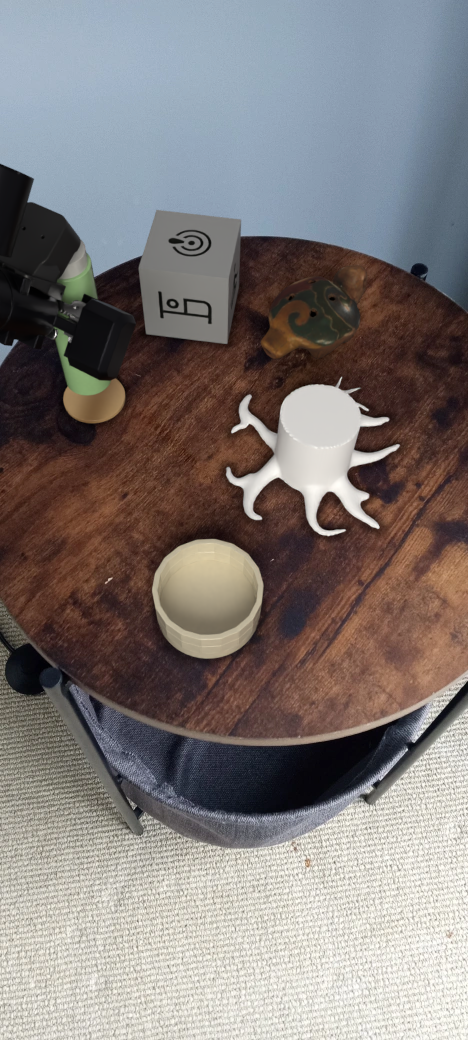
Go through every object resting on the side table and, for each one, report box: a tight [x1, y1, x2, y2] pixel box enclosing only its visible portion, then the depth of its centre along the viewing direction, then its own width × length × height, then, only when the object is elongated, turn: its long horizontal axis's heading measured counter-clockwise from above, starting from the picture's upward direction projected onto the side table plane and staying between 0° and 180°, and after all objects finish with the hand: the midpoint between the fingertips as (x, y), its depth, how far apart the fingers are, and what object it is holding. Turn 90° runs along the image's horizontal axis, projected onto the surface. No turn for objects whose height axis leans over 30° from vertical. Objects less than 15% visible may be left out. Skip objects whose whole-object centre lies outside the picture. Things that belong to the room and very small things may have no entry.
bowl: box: [151, 538, 264, 659], centre depth 67 cm, size 10×10×5 cm
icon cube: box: [138, 209, 242, 345], centre depth 86 cm, size 10×10×10 cm
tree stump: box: [225, 376, 401, 537], centre depth 75 cm, size 20×19×8 cm
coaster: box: [62, 378, 127, 424], centre depth 82 cm, size 7×7×1 cm
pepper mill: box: [54, 238, 111, 396], centre depth 72 cm, size 5×5×17 cm
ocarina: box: [260, 264, 368, 360], centre depth 85 cm, size 10×15×8 cm, turn 135°
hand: (86, 319), depth 73 cm, fingers closed on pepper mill, 5 cm apart
